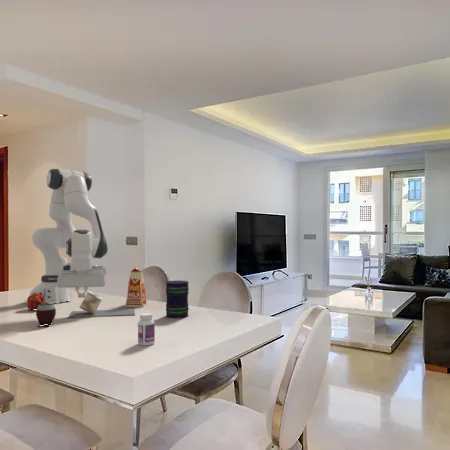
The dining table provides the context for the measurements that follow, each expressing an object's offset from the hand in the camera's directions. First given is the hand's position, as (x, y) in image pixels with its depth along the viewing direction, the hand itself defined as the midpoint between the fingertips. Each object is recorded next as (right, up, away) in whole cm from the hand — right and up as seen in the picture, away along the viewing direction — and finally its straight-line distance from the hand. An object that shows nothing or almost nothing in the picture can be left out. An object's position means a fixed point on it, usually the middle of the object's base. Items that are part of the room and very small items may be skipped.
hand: (81, 297), depth 187 cm
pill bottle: (+38, -7, -50) cm, 63 cm away
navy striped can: (+43, -8, -4) cm, 44 cm away
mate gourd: (-6, -7, -23) cm, 25 cm away
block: (+2, -6, +1) cm, 6 cm away
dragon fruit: (-25, -8, +12) cm, 29 cm away
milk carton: (+19, -8, +24) cm, 32 cm away
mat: (+9, -8, +2) cm, 12 cm away
